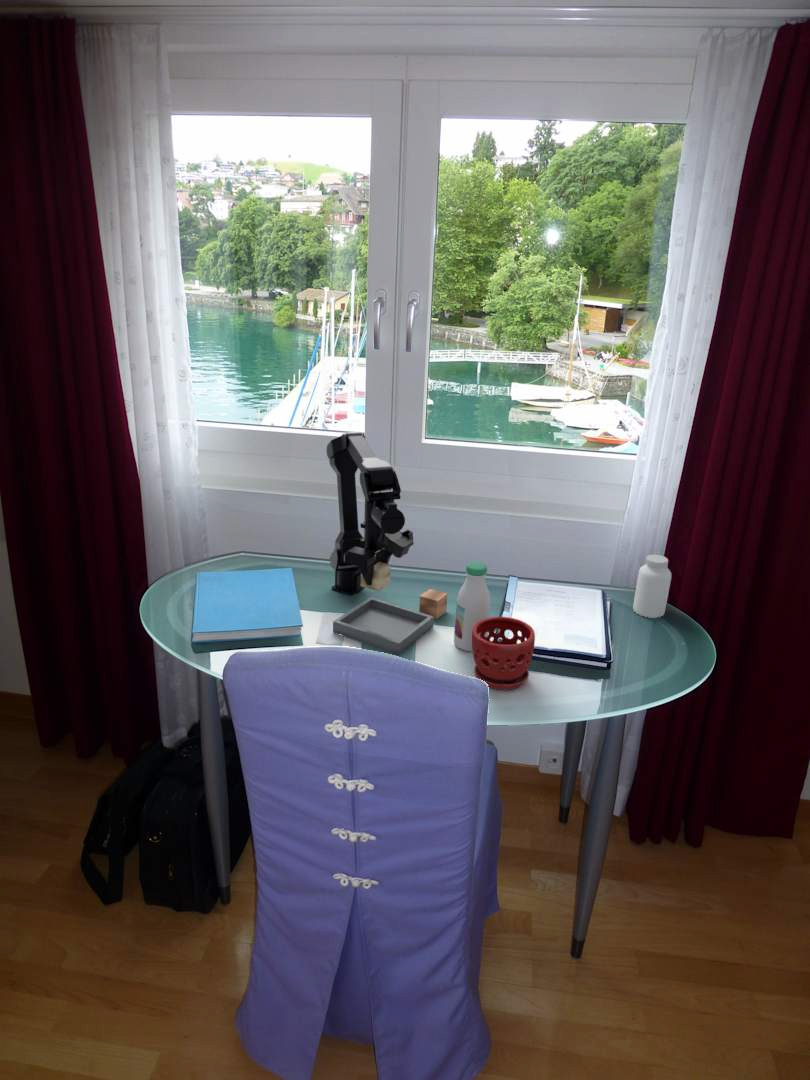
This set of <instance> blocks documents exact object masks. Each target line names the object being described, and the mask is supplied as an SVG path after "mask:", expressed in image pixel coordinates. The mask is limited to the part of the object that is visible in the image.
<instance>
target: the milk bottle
mask: <svg viewBox="0 0 810 1080" xmlns="http://www.w3.org/2000/svg"><path fill="white" fill-rule="evenodd" d="M487 569H488V566H487V565H486V564H485V563H482V562H480V561H472V562H468V563H467V564H466V568H465V575H466V578H465V580H464V583H463V584H462V585H461V588H460V590H459V592H458V593H457V600H456V605H455V606H456V608H455V618H454V619H455V620H454V621H455V622H454V633H453V643H454V645H455V647H456V648H458V649H459V650H461V651H465V652H472V653H473V650H472V630H473V627H474V625H475V624H476V623H477V622H479V621H481V620H484V619H487V618H491V617H490V615H491V593H490V591H489V587H488V586H487V583H486V576H487V573H488V572H487V571H488V570H487ZM488 634H489V633H488V632H486V633H485V635H484V636H485V637H487V636H488ZM479 636H480V633H479Z"/></svg>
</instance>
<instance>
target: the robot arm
mask: <svg viewBox="0 0 810 1080" xmlns="http://www.w3.org/2000/svg"><path fill="white" fill-rule="evenodd" d="M326 456H327V458H328V461H329V462H328V463H329V466H330V467H331V469H332V470H333V471H334V473H335V474H336V482H337V483H336V484H337V498H338V500H337V501H338V513H339V515H338V516H339V528H340V530H339V531H340V532H339V533H338V536H337V537H336V539H335V541H334V549H333V551H331V552H332V553H331V554H330V556H329V561H330V562H329V563H330V566H331V568H332V569H333V571H334V585H331V587H330V588H332V589H331V590H333V589H334V591H337V592H340V593H342V594H346V595H349V596H352V595H354V594H356V593H357V592H358V591H360V590H362V589H364V587H361V574H362V576H363V578H364V580H365V582H366V584H367V585H371V584H372V580H373V572H374V566H375V565H376V564H377V563H379V562H382V563H386V564H389V562H390V559H391V557H392V556H393V557H395V558H398V559H401V558H402V557H404V556H406V555H407V554H408V552H409V550H410V548H411V547H412V546H414V534H413V533H414V532H413V531H412V530H410V529H408V528H407V529H406V530H404V531H402V530H403V528H404V526H405V521H406V518H405V515H404V514H403V512H402V511H401V510H400V509H399V508H398V503H397V502H395V500H401V492H402V489H401V485H400V483H399V479H398V475H397V473H396V471H395V469H394V468H393V467H392V465H390V464H389V462H388V461H386V460H382V459H380V458H379V457H378V456H377V454H376V453H375V452H374V450H373V449H372V448H371V446H370V445H369V443H368V441H367V440H366V436H365V433H364V432H362V431H349V432H348V431H347V432H345V433H342V434H341V435H340V436H338V437H336V438H333V439H331V440H330V441H329V442H328V444H327V446H326ZM358 469H359V471H360V473H359V484H360V486H361V489H362V493H363V496H364V514H363V515H364V518H363V519H364V521H363V522H360V528H361V529H363V536H362V533H360V529H359V515H358V502H357V500H358V499H357V485H356V484H357V483H356V473H357V471H358Z"/></svg>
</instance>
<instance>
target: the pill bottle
mask: <svg viewBox="0 0 810 1080" xmlns="http://www.w3.org/2000/svg"><path fill="white" fill-rule="evenodd" d="M668 565H669V559H668V558H667V557H666V556H664V555H660V554H649V555H647V556H646V557H645V564H643V565H642V566H641V567H640V568H639V570H638V574H637V581H636V587H635V592H634V598H633V604H632V605H633V606H632V609H633V611H634V612H636V613H635V614H637V615H638V614H639V615H638V616H641V617H643V616H644V618H647V617H648V618H649V619H658V618H657V617H659V618H662V617H663V616H664V615H665V612H666V607H667V602H668V598H669V591H670V587H671V581H672V572H671V570H670V568H668V567H669V566H668ZM661 616H662V617H661Z"/></svg>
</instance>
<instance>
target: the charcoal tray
mask: <svg viewBox="0 0 810 1080" xmlns="http://www.w3.org/2000/svg"><path fill="white" fill-rule="evenodd" d="M434 619H435V618H434V616H430V615H427V614H424V613H421V612H419V611H417V610H414V609H410V608H407V607H404V606H401V605H398V604H394V603H391V602H387V601H385V600H382V599H378V598H375V597H372V596H371V597H369V598H366V599H365V600H364V601H362V602H360V603H359V604H358V605H357V606H355V607H352V608H351V609H350V610H348V611H347V612H344V614H342V615H341V616H339V617H338V618H336V619H334V620H333V621H332V633H333V632H334V633H333V634H335V633H337V634H336V635H338V634H341V635H343V636H342V637H344V636H345V638H347V639H350V640H353V641H356V642H359V643H362V644H365V645H368V646H370V647H374V648H375V649H379V650H382V651H384V652H385V651H386V652H387V653H391V654H394V655H396V656H399V655H400V654H402V653H403V652H404V651H405V650H407V649H408V648H409V647H410V646H412V645H413V644H414V643H415V642H417V641H418V640H419V639H421V638H422V637H423V636H425V635H426V634H427V633H428V632H430V631H431V630H432V629H433V628H434V622H435V621H434ZM341 635H340V636H341Z"/></svg>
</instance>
